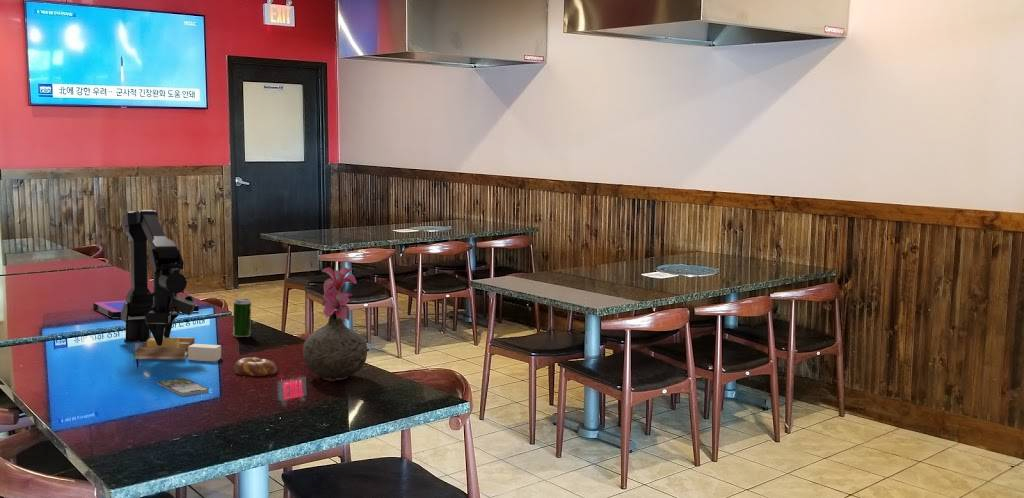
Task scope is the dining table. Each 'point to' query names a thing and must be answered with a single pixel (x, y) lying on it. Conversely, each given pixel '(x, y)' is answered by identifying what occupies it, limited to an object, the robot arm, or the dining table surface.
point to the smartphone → (183, 387)
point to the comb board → (165, 350)
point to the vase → (335, 334)
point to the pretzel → (255, 367)
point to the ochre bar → (164, 343)
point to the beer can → (242, 318)
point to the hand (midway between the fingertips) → (163, 342)
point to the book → (116, 307)
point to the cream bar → (204, 352)
